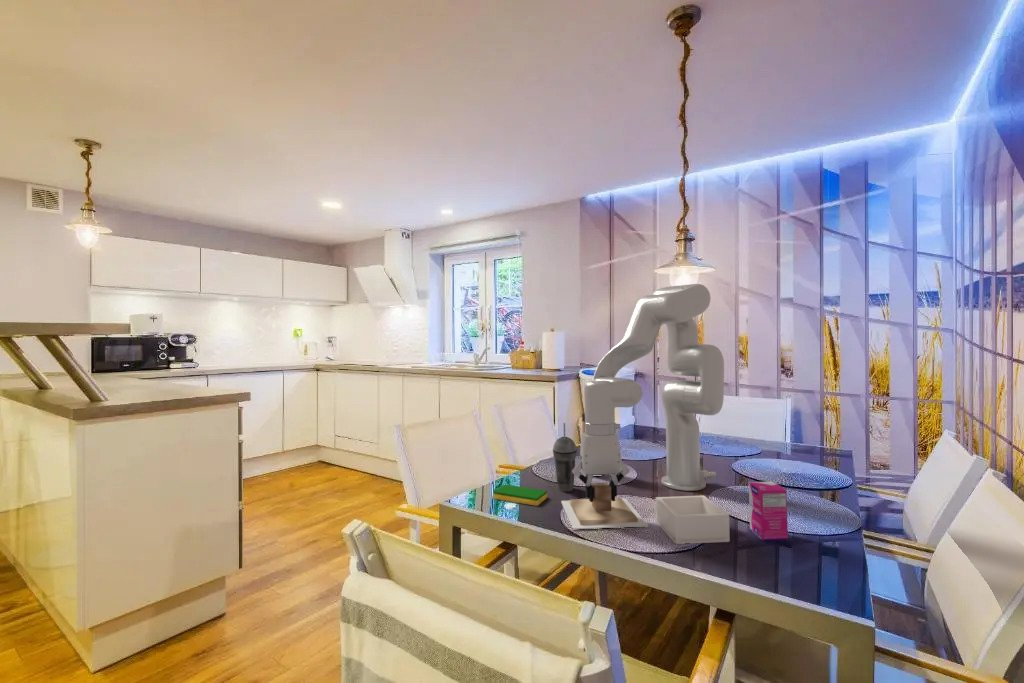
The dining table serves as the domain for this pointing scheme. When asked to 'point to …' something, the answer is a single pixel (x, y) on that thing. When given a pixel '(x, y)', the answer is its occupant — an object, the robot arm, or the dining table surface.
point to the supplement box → (768, 511)
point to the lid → (602, 508)
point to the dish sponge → (520, 494)
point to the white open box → (692, 519)
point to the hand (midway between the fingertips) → (601, 499)
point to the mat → (577, 525)
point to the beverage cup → (564, 462)
